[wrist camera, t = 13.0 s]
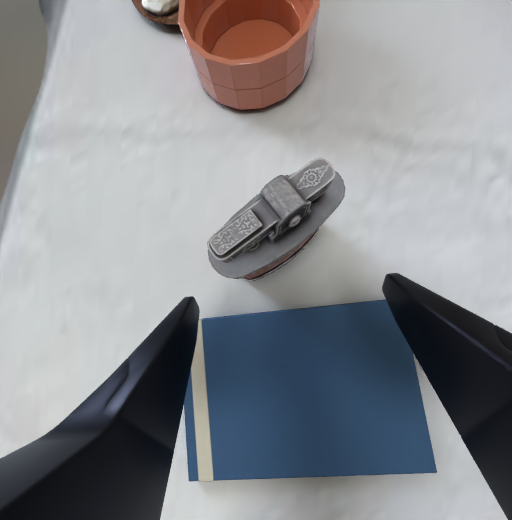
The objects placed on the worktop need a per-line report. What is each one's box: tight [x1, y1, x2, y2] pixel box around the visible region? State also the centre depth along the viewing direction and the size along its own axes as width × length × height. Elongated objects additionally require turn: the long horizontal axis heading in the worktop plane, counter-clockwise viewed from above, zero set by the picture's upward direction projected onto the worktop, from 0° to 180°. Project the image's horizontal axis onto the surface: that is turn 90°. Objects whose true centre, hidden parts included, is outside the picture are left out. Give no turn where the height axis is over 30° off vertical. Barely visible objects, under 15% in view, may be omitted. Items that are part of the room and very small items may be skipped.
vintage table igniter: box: [207, 157, 345, 281], centre depth 13 cm, size 8×3×10 cm, turn 126°
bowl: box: [178, 0, 319, 110], centre depth 18 cm, size 11×11×4 cm
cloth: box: [184, 300, 437, 481], centre depth 16 cm, size 12×18×1 cm, turn 97°
